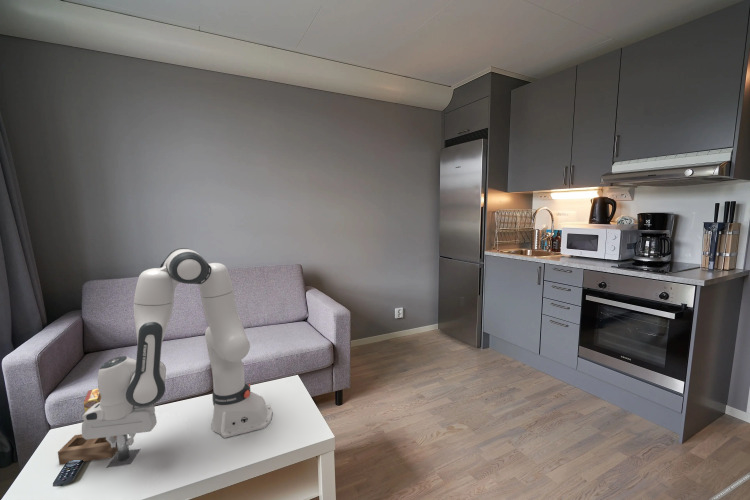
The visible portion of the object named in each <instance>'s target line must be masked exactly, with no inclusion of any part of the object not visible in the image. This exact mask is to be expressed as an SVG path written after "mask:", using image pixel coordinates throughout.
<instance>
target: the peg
mask: <svg viewBox="0 0 750 500" xmlns="http://www.w3.org/2000/svg"><path fill="white" fill-rule="evenodd" d="M128 438H129V434H126V435H119V436H116V443H117V452H116V453H118V460H119V461H124V460H126V459H128V458H129V456H130V454H129V450H130V445H129V446H126V441H127V440H128Z"/></svg>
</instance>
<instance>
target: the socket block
mask: <svg viewBox="0 0 750 500" xmlns="http://www.w3.org/2000/svg"><path fill="white" fill-rule="evenodd" d="M114 438H115V439H116V436H114ZM117 453H118V452H117V447H114V448H111V444H110V443H109V442H108V441H107V440H106V437H103V438H95V439H87V440H86V439H84V438H83V437H82V433H81V434H75V435H74V436H72V437H71V439H69V440H68V441H67V443H65V444H64V445H63V446H62V447H61V448H60V449H59V450H58V451H57V456H58V463H59V466H60V465H61V466H62V465H67V464H66V463H67V462H69V461H72V460H83V461H84V462H91V461H98V460H102V459H103V460H105V459H113V458H114V456H115V455H116V454H117Z"/></svg>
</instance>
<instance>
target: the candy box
mask: <svg viewBox="0 0 750 500" xmlns="http://www.w3.org/2000/svg"><path fill="white" fill-rule="evenodd" d="M100 400H101V395H100V393H99V390H98V387H97V388H94V389H90V390H89V389H88V391H87V393H86V395H85V398H84V401H83V409H84V413H85V412H86V411H87V410H89V409H90V408H91V407H92V406H93V405H95V404H96V403H99V402H100Z"/></svg>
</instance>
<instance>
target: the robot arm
mask: <svg viewBox="0 0 750 500" xmlns="http://www.w3.org/2000/svg"><path fill="white" fill-rule="evenodd" d="M180 283H181V284H187V285H189V284H193V285H197V286H198V288H199V293H200V298H201V303H202V308H203V313H204V317H205V320H206V322H207V324H208V327H207V328H206V329H205V333H204V338H205V343H206V347H207V352H208V354H207V355H208V360H209V363H210V367H211V368H210V369H211V373H212V386H213V391H212V395H211V396H212V399H211V400H212V404H213V415H212V422H211V426H210V428H211V430H212V431H213V432H215V433H217V434H219V435H220V436H221V437H222V438H223V439H225V438H230V437H234V436H237V435H242V434H246V433H249V432H253V431H257V430H262V429H264V428H267V427H268V426H269V424H271V421H272V418H273V409H272V406H270V404H266V401H265V399H264V397H263V396H262V395H259V394H257V393H254V392H252V391H251V383H249V384H246V383H245V368H244V363H243V360H244V359H245V358H246V356H247V355H248V354H249V352H250V350H251V349H250V348H251V344H250V341H249V338H248V336H247V334H246V331H245V328H244V327H245V326H244V325H243V322H242V319H241V316H240V313H239V310H238V307H237V302H236V301H237V299H236V296H235V291H234V286H233V282H232V278H231V275H230V272H229V269H228V268H227V266H226V265H225V264H223V263H221V262H210V263H208V262H207V260H205V258H204V257H202V256H201V254H199V253H198V252H197V251H195V250H192V249H191V248H187V247H182V248H177V249H174V250H173V251H170V253H169V254H168V255H167V256H166V258H165V259H164V260H163V261H162V263H161V264H160V266H159V267H154V268H153V267H152V268H148V269H146V270H143V271H142V272H141V273H140V274H139V276H138V279H137V282H136V286H135V290H134V296H133V318H134V326H135V332H136V340H137V341H136V342H137V348H136V359H135V358H131V357H129V356H126V355H122V356H117V357H114V358H112V359H109V360H108V361H106V362H104V363H103V364H102V365H101V366H100V368H99V369H98V371H97V388H98V390H99V393H100V395H101V400H100V402H99V403H96V404H95V405H93V406H92V407H91V408H90V409H89V410H87V411H86V412H85V411H84V414H83V415H82V416H81V417H82V420H83V421H82V424H81V434H82V437H83V438H84V439H86V440H87V439H95V438H103V437H106V440H107V441H108V442H109V443H110V444H111V448H114V447H117V443H116V439H115V438H114V436H119V435H126V434H127V435H128V440H127V441H126V446H129V447H130V446H132V445H133V444H134V443H135V439H134V438H135V436H136V434H140V433H141V434H142V433H149V432H152V430H153V429H154V428H155V427H156V426H157V423H158V422H157V420H158V419H157V416H156V408H155V406H154V404H156V403H157V402H159V401H160V400H161V399H162V398H163V396H164V395H165V393H166V376H167V374H166V373H167V367H166V365H165V363H164V362H162V361H161V356H162V346H163V341H164V337H165V335H166V332H167V329H168V326H169V324H170V320H171V317H172V314H173V309H174V303H175V301H174V299H175V291H176V288H177V287H178V285H179V284H180Z"/></svg>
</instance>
